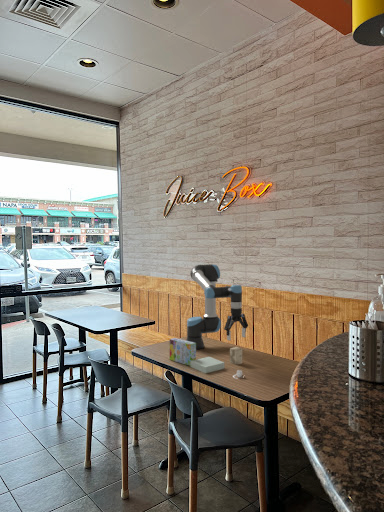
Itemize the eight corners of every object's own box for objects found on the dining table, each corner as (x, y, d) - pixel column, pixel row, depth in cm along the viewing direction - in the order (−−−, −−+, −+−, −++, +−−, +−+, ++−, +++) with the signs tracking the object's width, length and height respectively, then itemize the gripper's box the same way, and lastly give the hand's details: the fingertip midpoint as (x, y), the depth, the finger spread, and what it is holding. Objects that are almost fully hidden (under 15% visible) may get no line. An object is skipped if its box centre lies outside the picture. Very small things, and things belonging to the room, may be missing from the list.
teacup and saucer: (237, 373, 250) (237, 367, 250) (248, 376, 245) (248, 370, 245) (230, 377, 243) (230, 371, 243) (241, 380, 238) (241, 374, 238)
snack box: (196, 364, 268) (196, 342, 267) (190, 366, 264) (190, 344, 263) (174, 358, 282) (174, 337, 281) (168, 359, 278) (168, 338, 277)
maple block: (229, 362, 272) (229, 348, 271) (236, 361, 275) (236, 346, 275) (235, 364, 267) (235, 350, 266) (242, 363, 270) (242, 348, 270)
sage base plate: (190, 366, 263) (190, 360, 263) (209, 362, 272) (209, 356, 272) (205, 373, 250) (205, 367, 250) (224, 368, 259) (224, 362, 259)
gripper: (226, 310, 259) (226, 342, 259) (253, 306, 273) (253, 337, 274) (218, 308, 265) (218, 340, 265) (245, 305, 279) (245, 335, 280)
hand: (236, 338), depth 270 cm, fingers open, 13 cm apart
